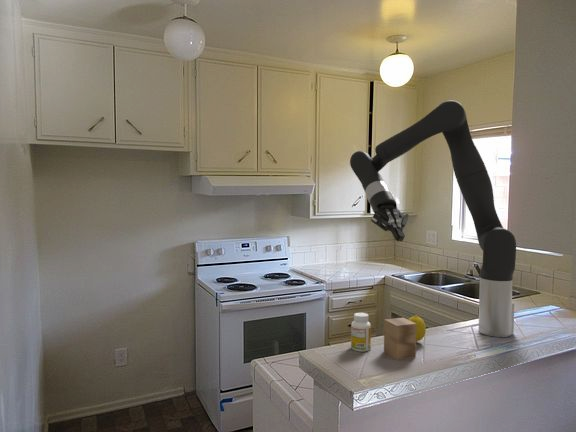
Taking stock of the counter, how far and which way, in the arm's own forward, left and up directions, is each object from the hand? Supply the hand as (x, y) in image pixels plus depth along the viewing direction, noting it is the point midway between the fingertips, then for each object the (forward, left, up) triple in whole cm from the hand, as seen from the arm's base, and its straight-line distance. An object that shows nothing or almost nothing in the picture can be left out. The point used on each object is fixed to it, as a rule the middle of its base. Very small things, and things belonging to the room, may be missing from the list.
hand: (401, 239), depth 127 cm
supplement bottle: (+15, +4, -30) cm, 34 cm away
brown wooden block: (+7, +11, -30) cm, 33 cm away
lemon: (-3, +4, -30) cm, 30 cm away
